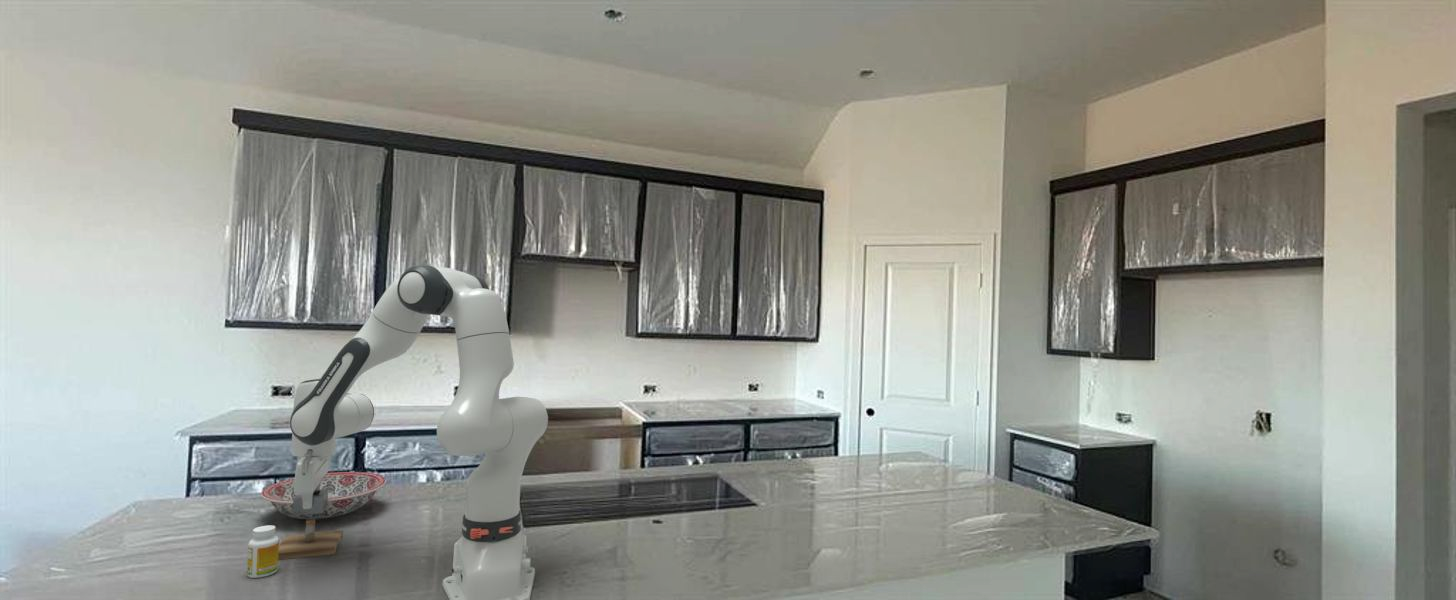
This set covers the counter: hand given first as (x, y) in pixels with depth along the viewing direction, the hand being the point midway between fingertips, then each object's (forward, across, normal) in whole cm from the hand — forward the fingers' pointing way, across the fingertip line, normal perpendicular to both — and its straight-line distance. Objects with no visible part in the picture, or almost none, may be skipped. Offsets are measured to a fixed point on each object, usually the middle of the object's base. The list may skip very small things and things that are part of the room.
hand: (311, 503), depth 152 cm
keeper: (+10, 0, 0) cm, 11 cm away
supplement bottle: (+11, -14, +6) cm, 18 cm away
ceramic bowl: (+11, +26, +1) cm, 28 cm away
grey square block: (+2, 0, 0) cm, 2 cm away
